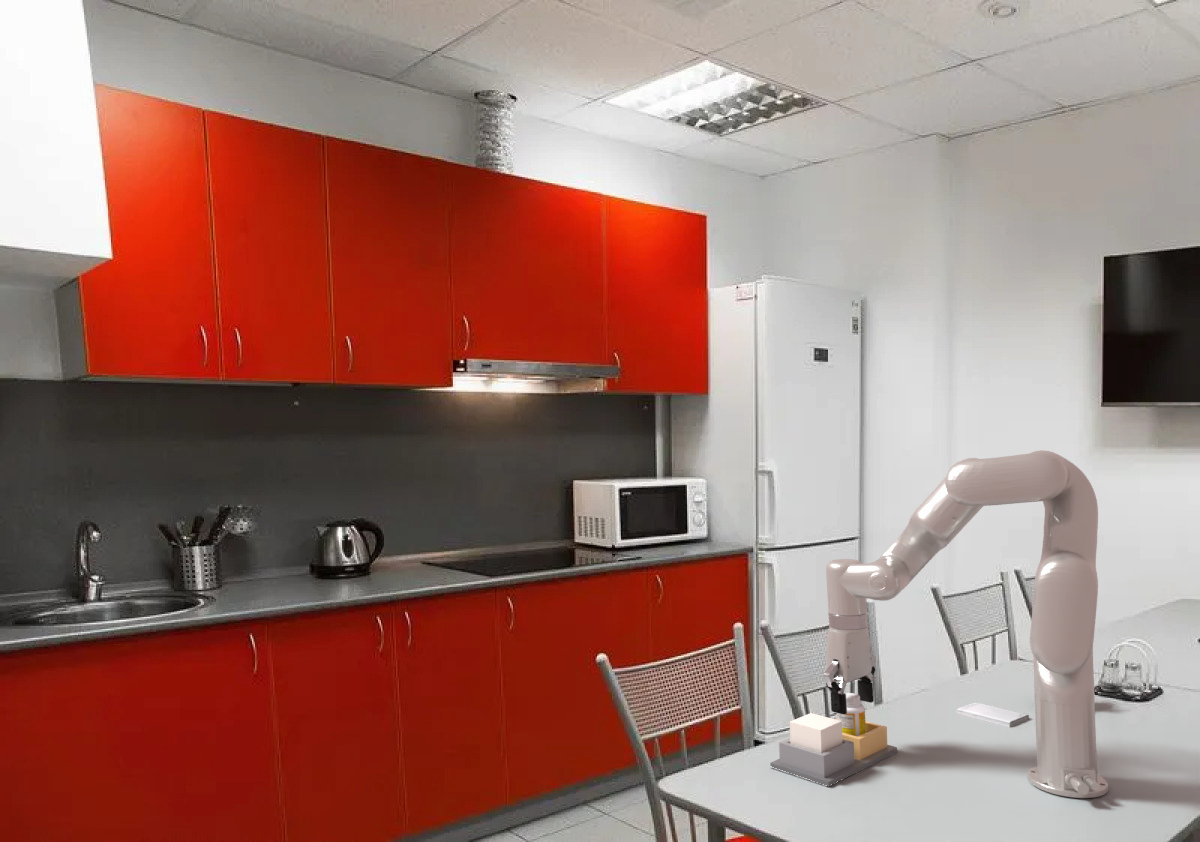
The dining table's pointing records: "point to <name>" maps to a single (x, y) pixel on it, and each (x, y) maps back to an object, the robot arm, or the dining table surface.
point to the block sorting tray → (830, 749)
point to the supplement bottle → (853, 716)
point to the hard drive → (992, 714)
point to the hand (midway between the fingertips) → (852, 706)
